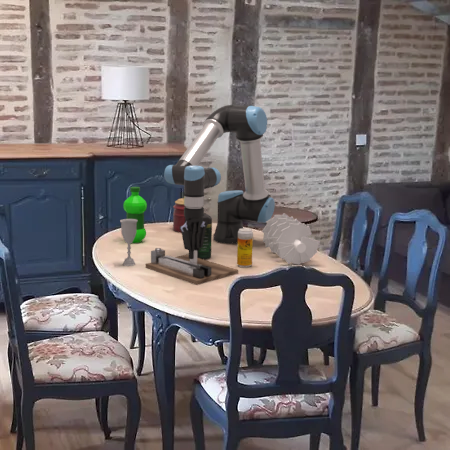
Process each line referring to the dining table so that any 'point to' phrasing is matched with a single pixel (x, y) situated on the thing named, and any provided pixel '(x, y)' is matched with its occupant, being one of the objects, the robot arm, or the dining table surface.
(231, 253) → the dining table surface
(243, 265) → the beer can
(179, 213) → the canister
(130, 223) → the chalice
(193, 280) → the cutting board
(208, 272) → the arm
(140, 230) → the plastic bottle
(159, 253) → the grey l-shaped bar
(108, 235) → the dining table surface
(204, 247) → the coffee jar
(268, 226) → the spiral staircase
